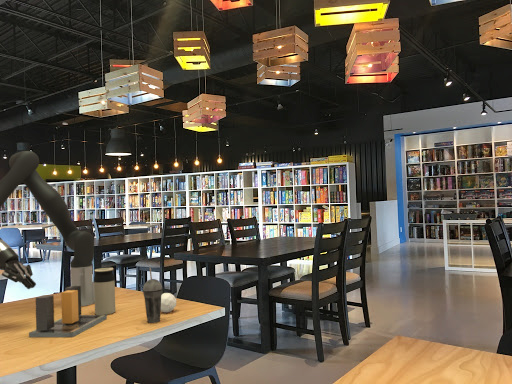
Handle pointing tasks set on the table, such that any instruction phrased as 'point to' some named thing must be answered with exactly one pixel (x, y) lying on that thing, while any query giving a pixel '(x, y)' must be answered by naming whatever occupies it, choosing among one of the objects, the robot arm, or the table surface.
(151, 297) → the beverage cup
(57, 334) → the panel
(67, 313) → the handle
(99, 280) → the travel mug
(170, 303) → the geometric ball
